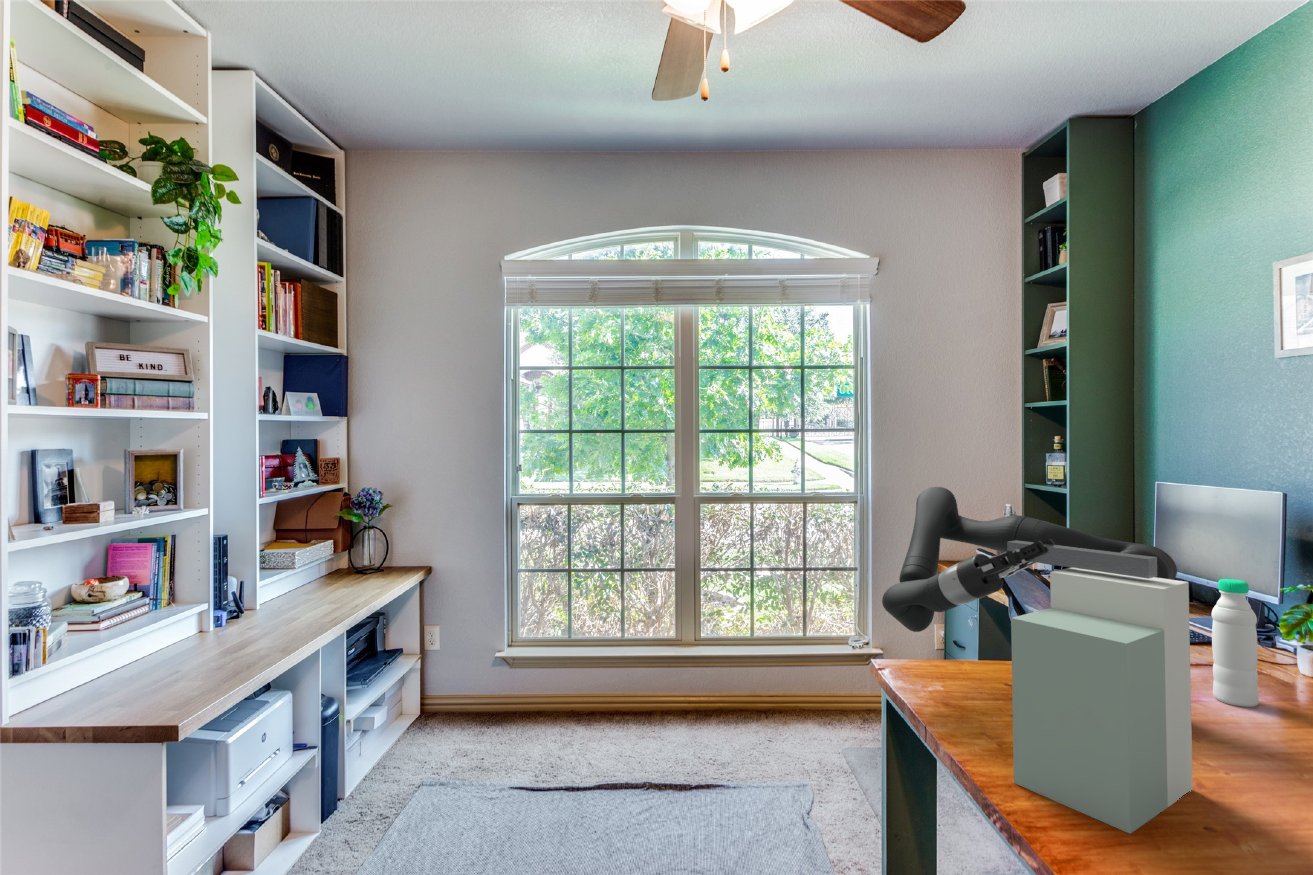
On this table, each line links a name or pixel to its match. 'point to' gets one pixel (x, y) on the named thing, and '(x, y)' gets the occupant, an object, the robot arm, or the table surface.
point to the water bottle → (1234, 646)
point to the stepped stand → (1105, 696)
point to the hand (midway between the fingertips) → (1048, 545)
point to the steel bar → (1093, 560)
